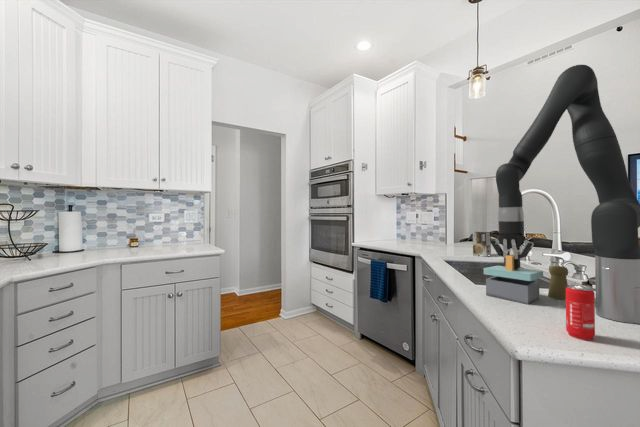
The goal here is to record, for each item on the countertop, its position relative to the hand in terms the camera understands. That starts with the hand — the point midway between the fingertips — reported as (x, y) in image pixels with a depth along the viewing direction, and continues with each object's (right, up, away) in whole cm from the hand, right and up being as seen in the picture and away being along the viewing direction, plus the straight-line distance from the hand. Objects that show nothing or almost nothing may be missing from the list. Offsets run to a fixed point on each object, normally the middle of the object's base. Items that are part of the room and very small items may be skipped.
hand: (512, 268), depth 100 cm
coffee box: (+41, -9, +90) cm, 99 cm away
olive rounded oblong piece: (+16, -10, -1) cm, 19 cm away
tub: (0, -10, 0) cm, 10 cm away
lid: (0, -3, 0) cm, 3 cm away
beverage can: (-5, -11, -31) cm, 33 cm away
